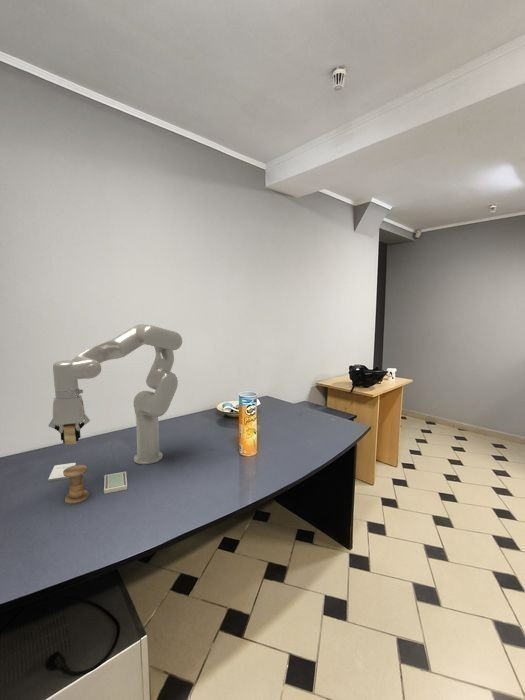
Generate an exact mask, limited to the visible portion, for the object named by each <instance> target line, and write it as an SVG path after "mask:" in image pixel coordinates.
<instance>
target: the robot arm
mask: <svg viewBox="0 0 525 700" xmlns="http://www.w3.org/2000/svg"><path fill="white" fill-rule="evenodd" d="M182 344H183V338H182V335H181V334H179V332H177V331H173V330H170V329H166V328H162V327H160V326H155V325H152V324H136V325H134V326H132V327H130V328H129V329H128V330H126V331H124V332H122V333H121V334H118V335H117V336H116V337H114V338H112V339H109V340H107V341H104V342H102V343H100V344H98V345H95V346H92V347H89V348H88V349H86V350H84V351H83V352H81V353H79V354H78V355H76V356H75V357H73V359H72V360H60V361H59V360H58V361H56V362H54V363H53V365H52V373H53V383H54V393H55V394H54V396H55V397H54V398H53V402H52V419H51V420H50V422H49V423H48V427H49V428H51V429H54V430H56V431H58V433H59V434H60V441H62V443H63V444H65V439H64V430H63V427H64V425H67V424H75V426H76V431H75V436H76V441H77V442H79V439H80V438H81V429H82V428H83V427H84V426H86V425H87V424H88V423H90V421H91V419H90V418H89V417H88V415H86V413H85V405H84V399H83V396H82V394H84V390H83V389H80V388H79V380H88V379H89V380H90V379H94V378H96V377H98V376H99V375H100V374H101V372H102V363H104V362H106V361H110V360H111V361H112V360H116V359H117V360H118V359H122V358H125V357H127V356H128V355H129V354H132V352H134V351H135V350H137V349H138V348H140V347H142V346H143V345H147V346H151V347H153V348H154V350H155V357H154V360H153V363H152V365H151V367H150V370H149V371H148V374H147V376H146V379H145V383H146V386H147V387H148V388H150V389H152V390H155V391H154V392H153V391H149V390H142V391H139V392H138V393H137V394H136V395H135V396H134V399H133V409H134V414H135V423H136V427H135V428H136V452H137V453H136V454H135V455H134V456H133V461H134V463H136V464H138V465H151V464H152V465H153V464H156V463H158V462H159V461H161V460H162V459H163V458H164V457H163V456H164V454H163V452H161V451H160V440H159V439H160V437H159V435H160V433H159V429H160V428H159V417H162V416H164V415H165V414H166V413H167V411H168V410H169V408H170V406H171V403H172V401H173V399H174V397H175V393H176V391H177V389H178V385H179V384H178V383H179V382H178V381H179V380H178V377H177V375H176V374H175V373H174V372H172V368H173V365H174V362H175V356H174V355H175V354H174V351H177V350H179V349H180V348H181V347H182Z"/></svg>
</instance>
